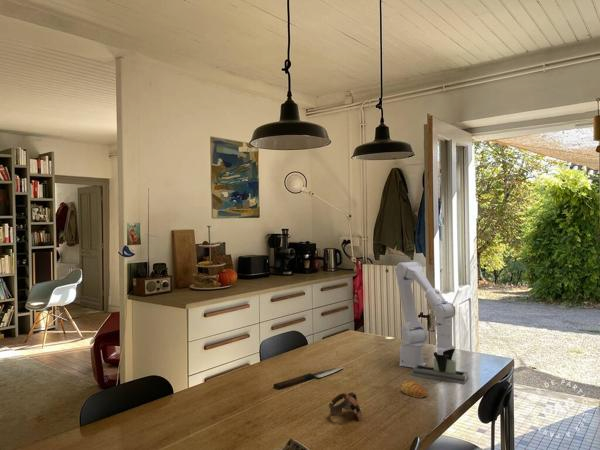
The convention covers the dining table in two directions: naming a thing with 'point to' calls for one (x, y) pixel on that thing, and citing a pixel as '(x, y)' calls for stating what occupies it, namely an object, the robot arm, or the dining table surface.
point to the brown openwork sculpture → (345, 404)
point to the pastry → (413, 389)
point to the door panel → (449, 367)
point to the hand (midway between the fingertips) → (444, 368)
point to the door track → (439, 374)
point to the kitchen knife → (304, 378)
